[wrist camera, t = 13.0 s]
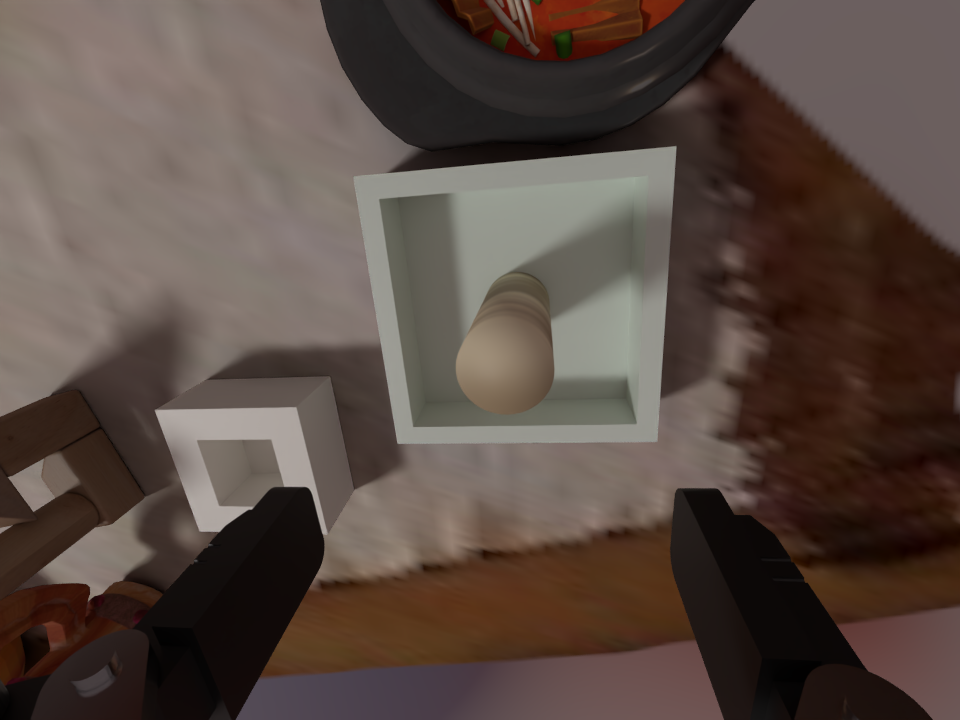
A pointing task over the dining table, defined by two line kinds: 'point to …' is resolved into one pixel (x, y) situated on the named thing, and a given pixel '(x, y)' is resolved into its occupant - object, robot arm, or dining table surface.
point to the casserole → (521, 64)
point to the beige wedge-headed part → (57, 483)
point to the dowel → (509, 347)
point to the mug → (72, 617)
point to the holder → (257, 445)
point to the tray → (543, 254)
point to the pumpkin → (12, 660)
